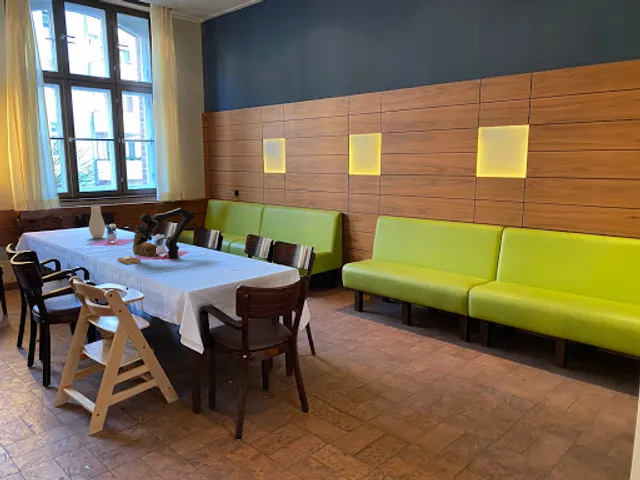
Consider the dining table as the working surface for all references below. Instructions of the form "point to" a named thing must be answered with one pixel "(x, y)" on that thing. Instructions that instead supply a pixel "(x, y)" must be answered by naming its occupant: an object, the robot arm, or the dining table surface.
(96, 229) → the vase
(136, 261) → the caddy
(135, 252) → the pepper mill
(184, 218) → the robot arm
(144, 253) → the bread
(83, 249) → the dining table surface
